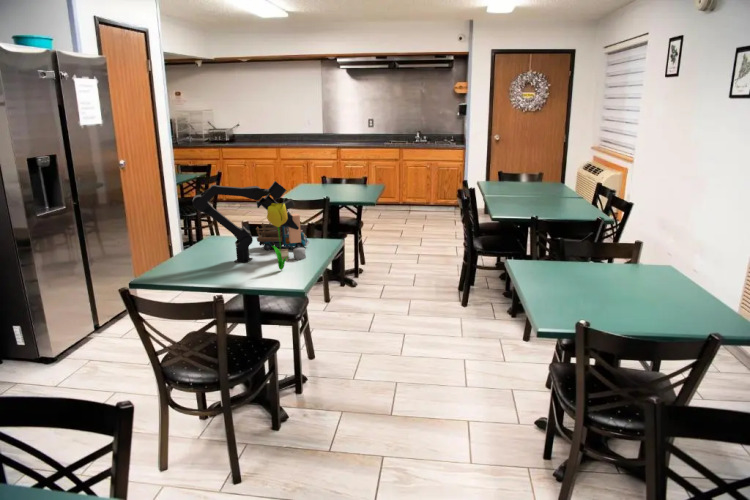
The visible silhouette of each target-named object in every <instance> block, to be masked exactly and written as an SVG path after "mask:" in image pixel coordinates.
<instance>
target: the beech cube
mask: <svg viewBox="0 0 750 500" xmlns="http://www.w3.org/2000/svg"><path fill="white" fill-rule="evenodd" d="M278 249H279V251H280V248H278ZM280 254H281V256H282V260H284V259H285V258H286V257H287V256H288V257H287V258H286V260H285V262H286V261H287V262H288V261H289V260H290V259H289V258H290V255H289V248H281V253H280Z"/></svg>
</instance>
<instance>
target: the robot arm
mask: <svg viewBox="0 0 750 500" xmlns="http://www.w3.org/2000/svg"><path fill="white" fill-rule="evenodd" d="M286 191H287V189H286V188H285V187H284V186H283V185H282V184H280V183H278V182H277V181H273V183H272V184H271V185H270V187H268V188H261V187H260V186H258V185H251V186H244V187H243V186H241V187H239V186H227V185H226V186H225V185H217V184H212V185H210V187H208V188H207V189H206V190H204V191H203V192H201V193H200V194H196V195H195V196H193V199H192V206H193V208H194V209H195V210H197V211H200V212H201V213H204V214H207V215H208V216H209V217H211V218H212V219H213V220H214V221H216V222H217V223H219V225H221V226H222V227H223V228H225V229H226V230H227V231H228V232H230V233H232V235H233V236H234V237H235V238H236V239H237V240H235V242H234V244H235V250H236V252H235V253H236V259H235V260H234V263H248V262H250V261H252V260H253V257H250V250H249V248H250V245H251V244H252V243H253V242H254V238H253V236H252V233H251V231H250V230H249V229H247V228H246V227H245V226H244V225H243V226H242V227H240V226H237V224H235V223H234V222H232V221H231V220H230V219H228V218H227V217H226V216H225V215H224V214H222V213H221V212H220V211H218V209H216V208H215V207H214V206H213V205H212V204H211V203H210V201H211V200H212V199H213V198H214V197H215V196H216V195H218V196H230V197H231V196H234V197H243V198H246V199H248V200H249V199H250V200H254V201H255V202H256V208H257V209H259V208H260V207H263V208H264V209H265V210H266V211H267V210H268V206H270V205H271V204H272V203H275V204H277V203H278V202H277V201H276V200H280V199H281V197H283V195H284V194H285V193H286ZM281 203H282V205H283V204H285V207H286V210H287V217H288V219H287V221H286V222H285V223H284V224H282V225H283V226H287V228H288V227H290V228H293V229H297V230H298V229H299V227H298V226H297V225H296V224H295V223H294V221H293V216H292V215H291V214H292V213H290V211H289V210H290V209H291V208H294V207H295V206H296V203H294V201H293V199H292V198H287V197H285V198H283V202H281Z"/></svg>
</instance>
